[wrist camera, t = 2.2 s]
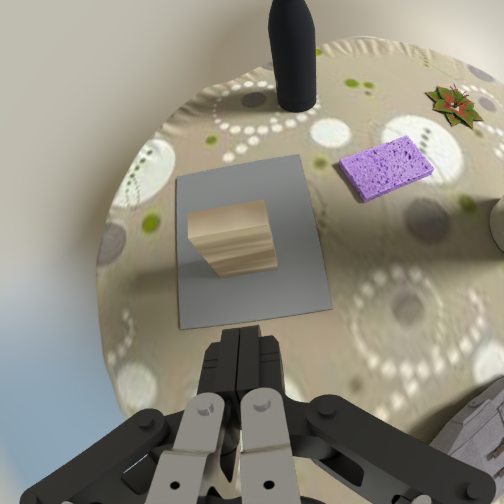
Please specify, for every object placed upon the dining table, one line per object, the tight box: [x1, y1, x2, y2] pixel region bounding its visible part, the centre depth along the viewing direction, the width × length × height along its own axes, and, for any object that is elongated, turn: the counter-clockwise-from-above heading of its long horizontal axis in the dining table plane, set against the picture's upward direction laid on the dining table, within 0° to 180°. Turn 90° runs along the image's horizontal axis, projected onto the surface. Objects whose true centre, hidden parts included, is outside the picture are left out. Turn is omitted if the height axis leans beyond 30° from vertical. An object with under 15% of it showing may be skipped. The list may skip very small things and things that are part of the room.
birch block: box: [187, 200, 278, 278], centre depth 33 cm, size 3×7×12 cm, turn 97°
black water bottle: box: [268, 0, 316, 112], centre depth 34 cm, size 6×6×30 cm
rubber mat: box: [177, 154, 333, 330], centre depth 40 cm, size 22×18×1 cm
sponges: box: [339, 135, 434, 203], centre depth 41 cm, size 7×13×2 cm, turn 112°
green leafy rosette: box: [425, 85, 484, 129], centre depth 42 cm, size 12×12×5 cm
